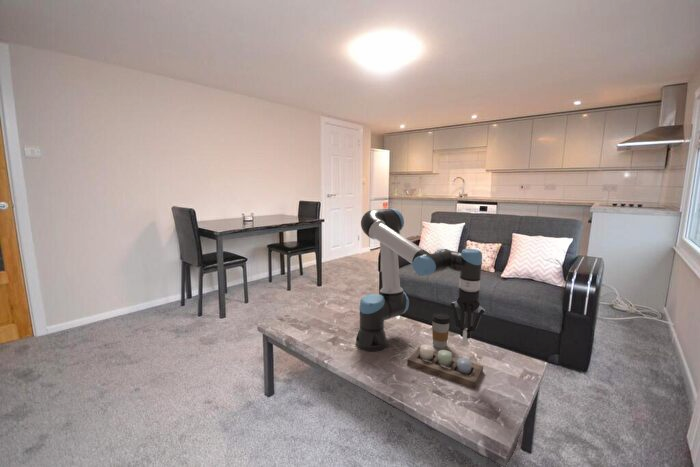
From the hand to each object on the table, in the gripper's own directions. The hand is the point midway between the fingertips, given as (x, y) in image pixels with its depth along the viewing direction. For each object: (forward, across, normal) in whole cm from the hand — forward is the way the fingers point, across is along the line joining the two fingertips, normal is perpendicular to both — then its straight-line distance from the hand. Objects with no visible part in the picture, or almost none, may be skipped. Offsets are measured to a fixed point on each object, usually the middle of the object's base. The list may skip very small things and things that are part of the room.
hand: (464, 344), depth 129 cm
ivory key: (+11, -16, 0) cm, 19 cm away
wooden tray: (+13, -8, 0) cm, 15 cm away
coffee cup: (+14, -16, +17) cm, 27 cm away
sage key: (+10, -8, 0) cm, 13 cm away
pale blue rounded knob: (+11, 0, 0) cm, 11 cm away
